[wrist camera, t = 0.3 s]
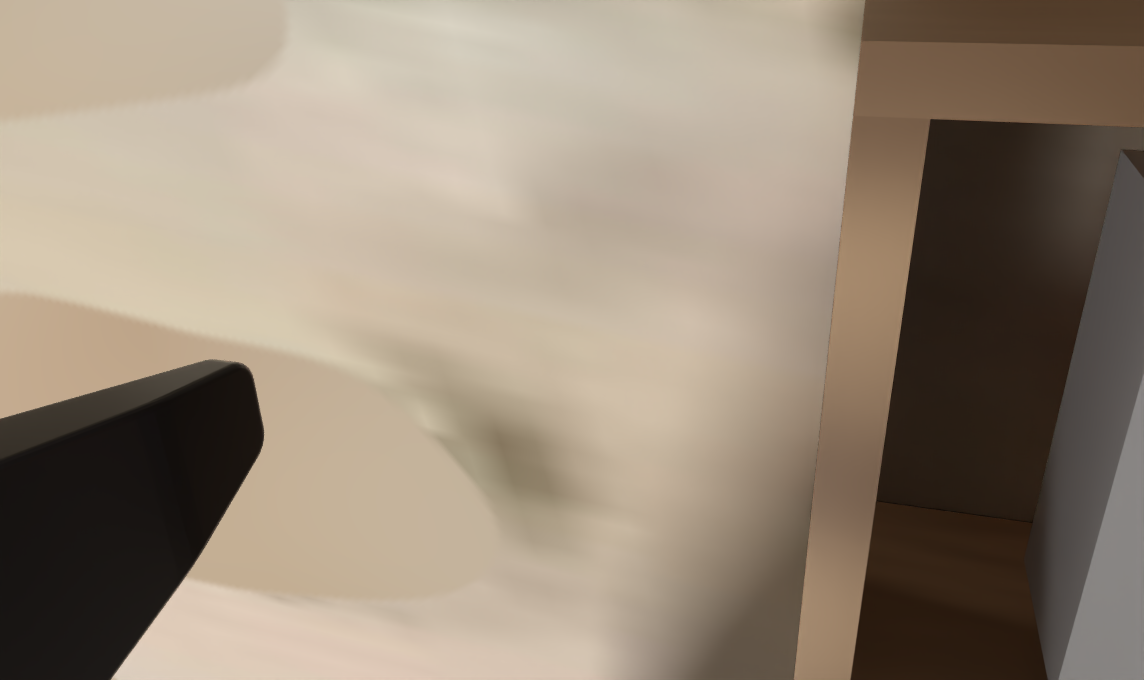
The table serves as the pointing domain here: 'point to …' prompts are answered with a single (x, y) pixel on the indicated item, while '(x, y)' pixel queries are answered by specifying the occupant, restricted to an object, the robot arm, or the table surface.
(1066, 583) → the flap
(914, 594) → the stand
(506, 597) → the table surface
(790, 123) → the table surface
